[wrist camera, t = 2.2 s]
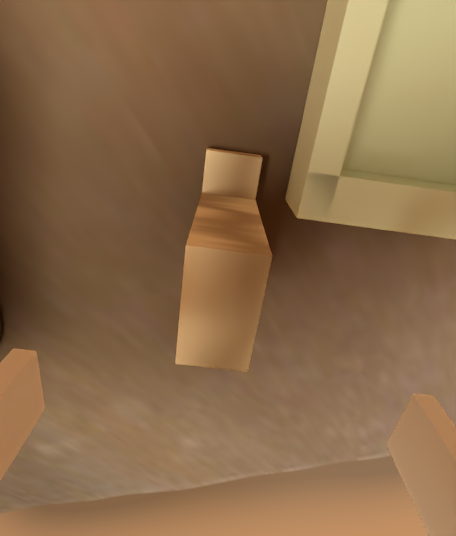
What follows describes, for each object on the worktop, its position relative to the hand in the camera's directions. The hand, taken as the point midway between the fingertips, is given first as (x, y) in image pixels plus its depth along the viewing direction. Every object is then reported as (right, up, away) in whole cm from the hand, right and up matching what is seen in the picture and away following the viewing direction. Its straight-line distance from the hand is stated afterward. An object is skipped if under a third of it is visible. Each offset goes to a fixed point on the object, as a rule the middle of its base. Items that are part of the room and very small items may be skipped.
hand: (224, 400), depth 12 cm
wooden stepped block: (0, +9, +15) cm, 17 cm away
